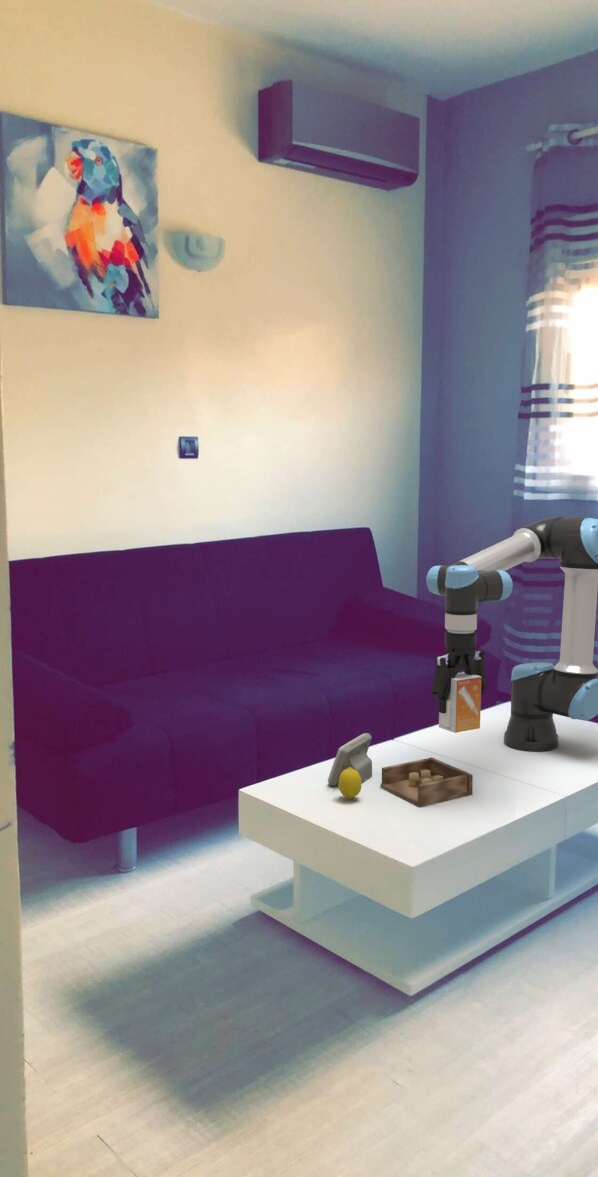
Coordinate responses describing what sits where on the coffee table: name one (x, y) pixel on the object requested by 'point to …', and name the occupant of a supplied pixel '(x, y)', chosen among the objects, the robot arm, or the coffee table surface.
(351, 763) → the digital clock
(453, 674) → the robot arm
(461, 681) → the small box
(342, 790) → the lemon
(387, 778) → the peg frame
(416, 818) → the coffee table surface
